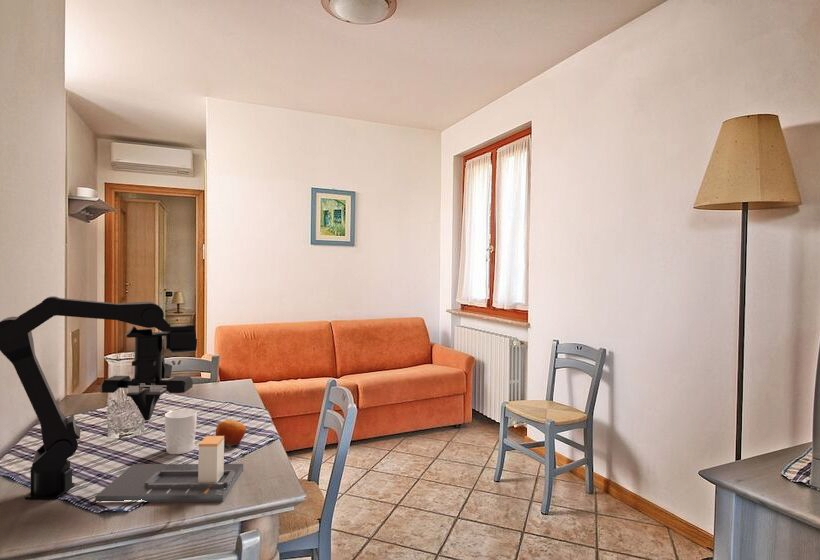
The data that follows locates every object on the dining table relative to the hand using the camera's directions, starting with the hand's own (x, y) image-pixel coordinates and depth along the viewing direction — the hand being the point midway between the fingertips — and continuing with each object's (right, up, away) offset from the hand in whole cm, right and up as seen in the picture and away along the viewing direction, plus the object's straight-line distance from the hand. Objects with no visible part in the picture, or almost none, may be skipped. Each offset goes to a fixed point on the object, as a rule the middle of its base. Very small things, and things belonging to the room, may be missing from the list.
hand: (147, 420), depth 113 cm
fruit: (+12, -13, +20) cm, 27 cm away
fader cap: (+17, -12, -5) cm, 22 cm away
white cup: (0, -13, +15) cm, 20 cm away
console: (+9, -13, -5) cm, 17 cm away
